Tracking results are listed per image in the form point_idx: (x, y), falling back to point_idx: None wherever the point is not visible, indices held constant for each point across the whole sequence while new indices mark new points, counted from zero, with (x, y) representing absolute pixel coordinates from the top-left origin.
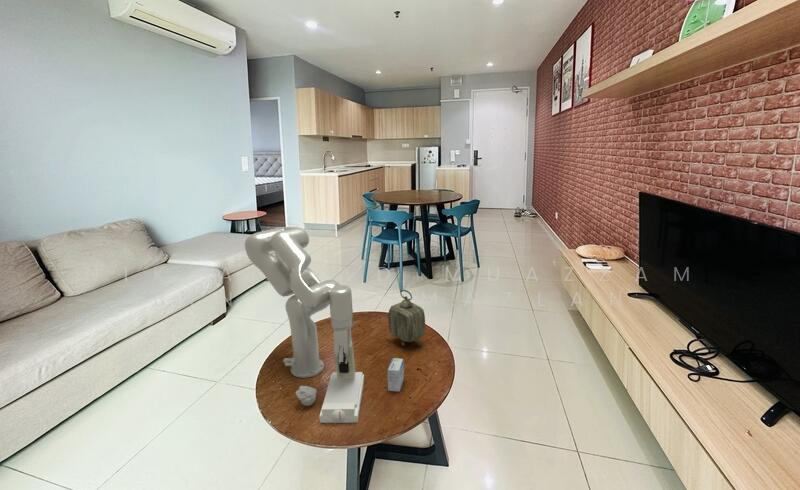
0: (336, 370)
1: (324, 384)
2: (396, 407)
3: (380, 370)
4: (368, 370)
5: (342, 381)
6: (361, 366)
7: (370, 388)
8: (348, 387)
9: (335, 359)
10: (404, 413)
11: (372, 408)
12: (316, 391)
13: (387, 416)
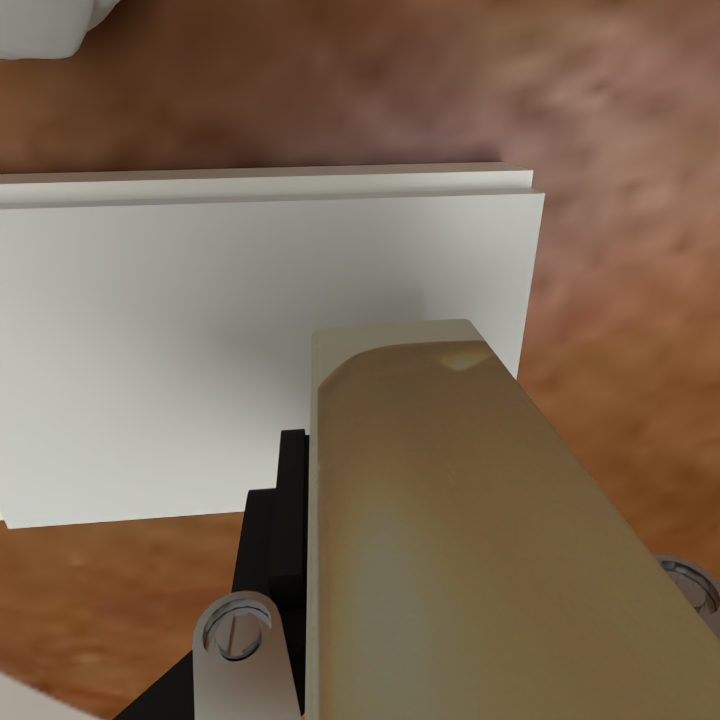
0: (312, 388)
1: (445, 82)
2: (179, 643)
3: None
4: (599, 455)
5: None
6: (672, 398)
7: None
8: (249, 421)
9: (309, 567)
10: (134, 677)
11: (140, 539)
12: (27, 54)
13: (84, 616)
